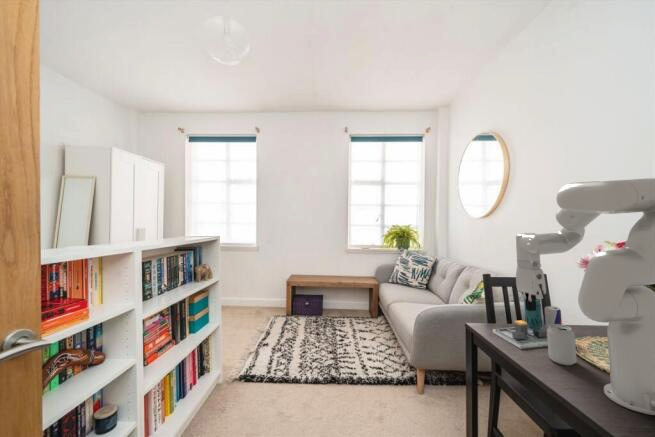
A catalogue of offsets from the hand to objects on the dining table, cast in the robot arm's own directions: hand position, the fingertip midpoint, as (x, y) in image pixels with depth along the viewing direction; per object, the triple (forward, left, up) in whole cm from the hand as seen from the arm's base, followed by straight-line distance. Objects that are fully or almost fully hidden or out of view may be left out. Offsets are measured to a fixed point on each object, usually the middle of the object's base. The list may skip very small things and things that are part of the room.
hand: (530, 310), depth 112 cm
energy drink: (+5, -13, -14) cm, 20 cm away
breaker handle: (+6, 0, -12) cm, 13 cm away
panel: (+6, 0, -14) cm, 15 cm away
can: (-13, +1, -14) cm, 19 cm away
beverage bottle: (+13, -11, -14) cm, 22 cm away
